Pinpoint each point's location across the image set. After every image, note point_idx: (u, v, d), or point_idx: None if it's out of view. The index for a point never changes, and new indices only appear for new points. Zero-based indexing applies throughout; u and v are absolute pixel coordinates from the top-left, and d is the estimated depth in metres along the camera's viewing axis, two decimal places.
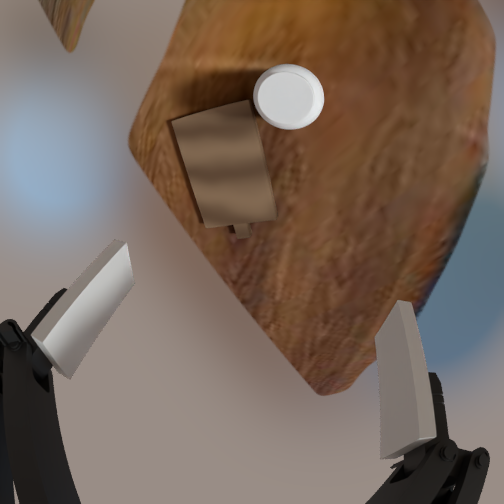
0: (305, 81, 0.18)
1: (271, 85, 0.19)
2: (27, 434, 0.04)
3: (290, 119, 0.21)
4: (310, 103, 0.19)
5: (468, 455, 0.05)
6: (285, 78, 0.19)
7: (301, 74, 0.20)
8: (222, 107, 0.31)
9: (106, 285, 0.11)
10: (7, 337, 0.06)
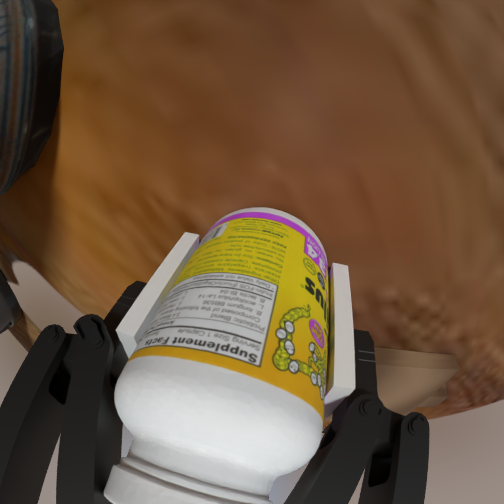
0: None
1: None
2: (89, 444, 0.05)
3: None
4: None
5: (398, 423, 0.07)
6: None
7: (132, 420, 0.06)
8: None
9: None
10: (87, 333, 0.08)
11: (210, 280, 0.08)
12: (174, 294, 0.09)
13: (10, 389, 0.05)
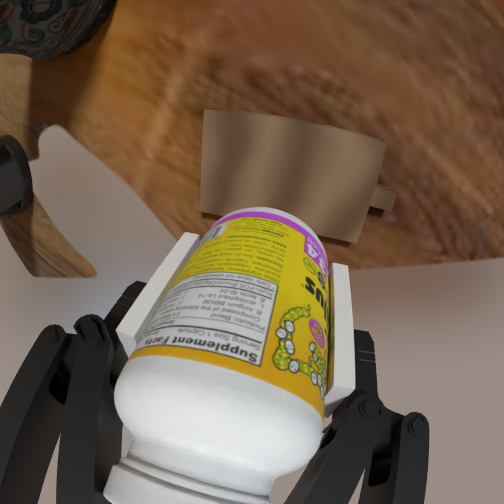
0: None
1: None
2: (89, 444, 0.05)
3: None
4: None
5: (398, 423, 0.07)
6: None
7: (132, 419, 0.06)
8: (204, 144, 0.25)
9: None
10: (87, 333, 0.08)
11: (210, 280, 0.08)
12: (174, 294, 0.09)
13: (10, 389, 0.05)
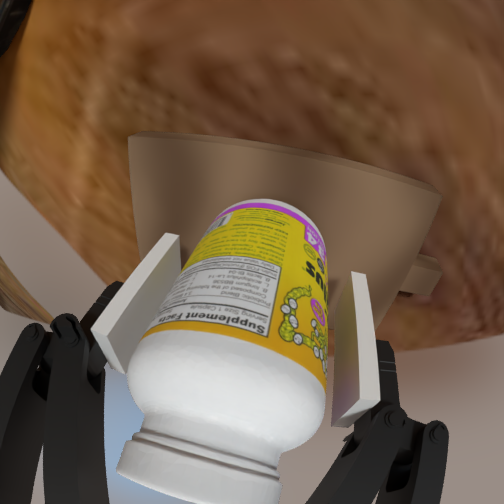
0: (139, 483, 0.04)
1: None
2: (71, 439, 0.05)
3: None
4: None
5: (420, 431, 0.06)
6: None
7: (146, 394, 0.06)
8: (134, 193, 0.15)
9: (161, 277, 0.12)
10: (63, 332, 0.07)
11: (219, 263, 0.09)
12: (184, 277, 0.09)
13: None
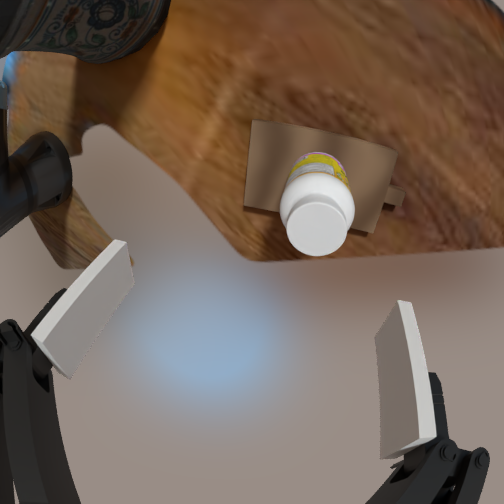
0: (306, 205, 0.20)
1: (298, 237, 0.21)
2: (27, 434, 0.04)
3: (340, 236, 0.20)
4: (332, 211, 0.19)
5: (468, 455, 0.05)
6: (296, 222, 0.20)
7: (298, 193, 0.22)
8: (251, 148, 0.31)
9: (106, 285, 0.11)
10: (7, 337, 0.06)
11: (312, 164, 0.24)
12: (299, 169, 0.25)
13: None
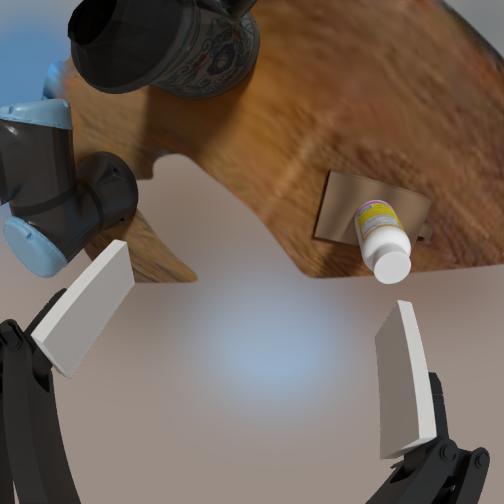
0: (390, 253, 0.28)
1: (380, 272, 0.30)
2: (27, 434, 0.04)
3: (406, 271, 0.29)
4: (404, 257, 0.28)
5: (468, 455, 0.05)
6: (381, 263, 0.29)
7: (379, 241, 0.30)
8: (327, 193, 0.39)
9: (106, 285, 0.11)
10: (7, 337, 0.06)
11: (382, 215, 0.33)
12: (373, 219, 0.33)
13: None
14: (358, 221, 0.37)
